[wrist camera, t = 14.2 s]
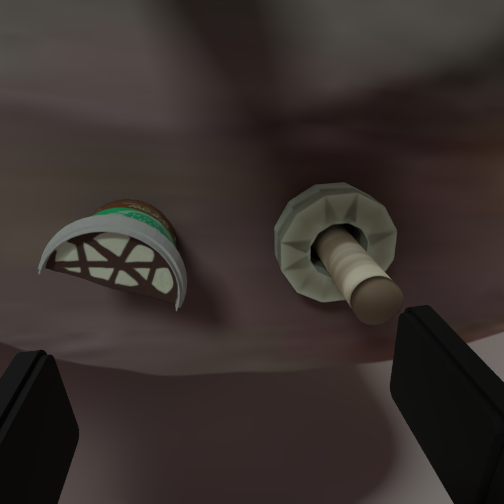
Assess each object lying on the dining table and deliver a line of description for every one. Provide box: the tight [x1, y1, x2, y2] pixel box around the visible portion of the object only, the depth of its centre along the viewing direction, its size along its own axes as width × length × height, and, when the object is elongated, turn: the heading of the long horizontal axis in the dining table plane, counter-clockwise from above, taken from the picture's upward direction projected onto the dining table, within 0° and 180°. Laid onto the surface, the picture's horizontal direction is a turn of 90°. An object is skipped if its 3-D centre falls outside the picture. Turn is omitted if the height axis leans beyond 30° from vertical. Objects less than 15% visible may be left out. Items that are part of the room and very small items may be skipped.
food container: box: [38, 199, 187, 311], centre depth 35 cm, size 12×6×10 cm, turn 68°
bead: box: [274, 182, 397, 302], centre depth 41 cm, size 12×12×4 cm
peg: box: [312, 224, 403, 325], centre depth 37 cm, size 4×4×14 cm
